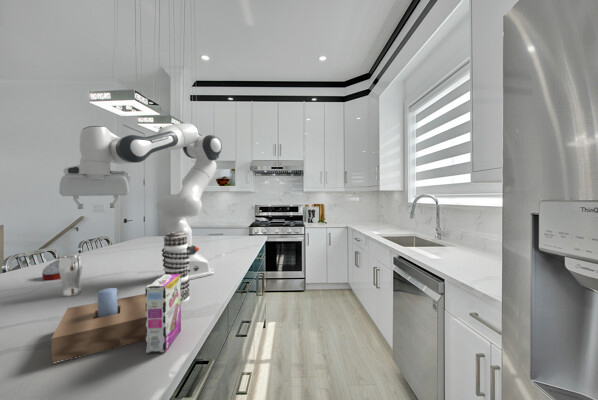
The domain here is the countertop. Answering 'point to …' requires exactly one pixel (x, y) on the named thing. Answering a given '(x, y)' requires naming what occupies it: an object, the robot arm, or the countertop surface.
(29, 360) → the countertop surface
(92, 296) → the countertop surface
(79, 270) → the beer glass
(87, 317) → the socket block
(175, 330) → the candy bar box
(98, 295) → the peg
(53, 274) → the red base snow globe
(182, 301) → the decorative candle
